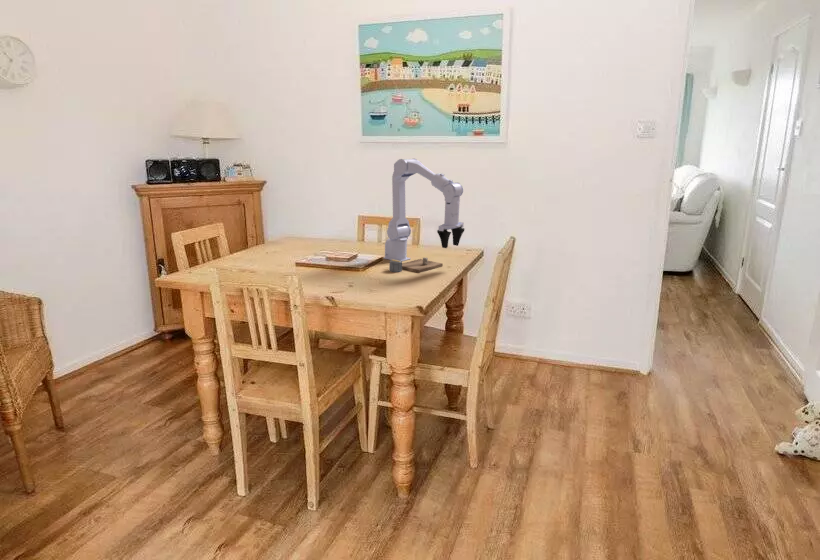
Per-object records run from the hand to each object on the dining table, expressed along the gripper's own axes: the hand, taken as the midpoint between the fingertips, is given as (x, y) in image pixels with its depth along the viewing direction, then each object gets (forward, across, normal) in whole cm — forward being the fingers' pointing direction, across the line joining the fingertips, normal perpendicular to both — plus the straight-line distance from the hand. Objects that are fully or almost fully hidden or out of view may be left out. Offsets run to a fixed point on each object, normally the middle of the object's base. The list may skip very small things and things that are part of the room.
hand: (450, 246), depth 230 cm
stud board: (+10, -5, +12) cm, 16 cm away
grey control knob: (+10, -17, +14) cm, 24 cm away
